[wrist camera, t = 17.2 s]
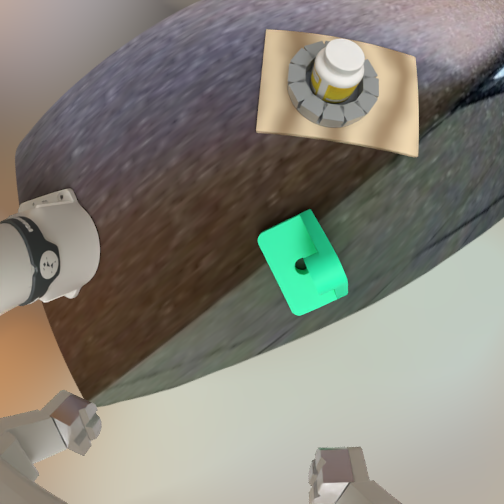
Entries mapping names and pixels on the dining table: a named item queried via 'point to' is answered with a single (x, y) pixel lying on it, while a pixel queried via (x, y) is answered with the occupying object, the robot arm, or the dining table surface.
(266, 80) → the board
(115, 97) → the dining table surface
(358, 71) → the supplement bottle
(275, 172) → the dining table surface
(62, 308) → the dining table surface
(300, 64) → the fire pit
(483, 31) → the dining table surface
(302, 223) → the camera mount
